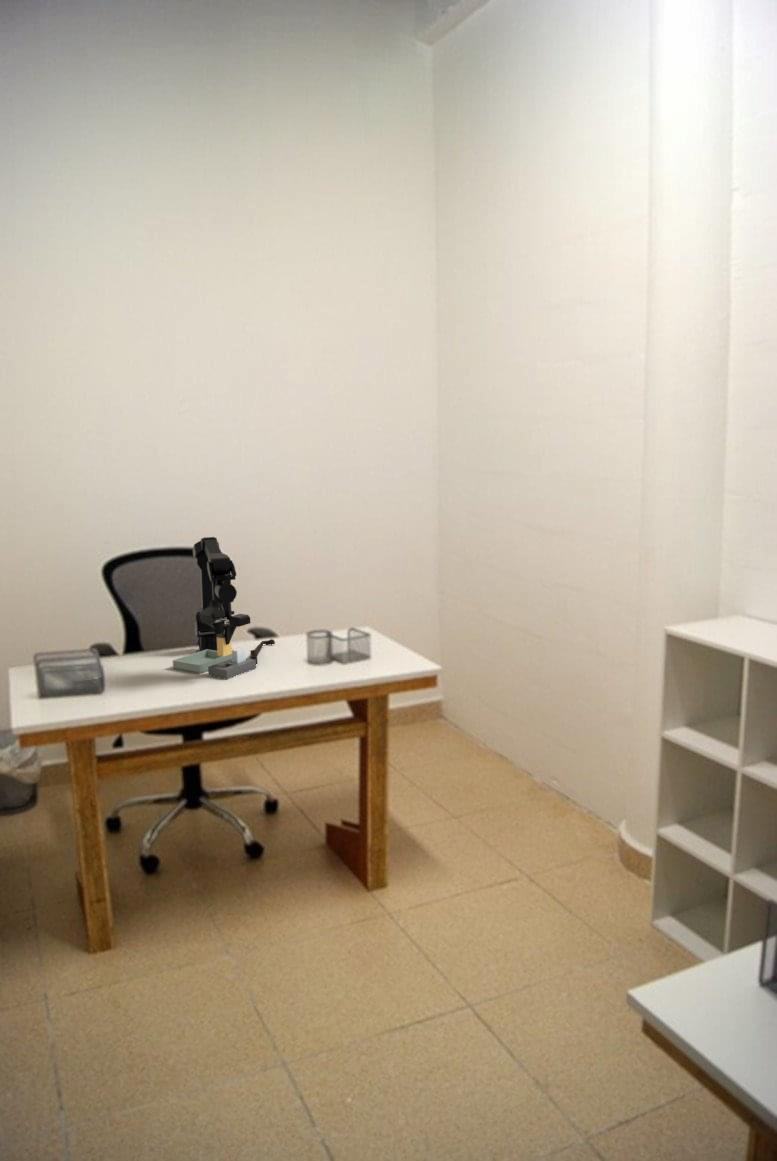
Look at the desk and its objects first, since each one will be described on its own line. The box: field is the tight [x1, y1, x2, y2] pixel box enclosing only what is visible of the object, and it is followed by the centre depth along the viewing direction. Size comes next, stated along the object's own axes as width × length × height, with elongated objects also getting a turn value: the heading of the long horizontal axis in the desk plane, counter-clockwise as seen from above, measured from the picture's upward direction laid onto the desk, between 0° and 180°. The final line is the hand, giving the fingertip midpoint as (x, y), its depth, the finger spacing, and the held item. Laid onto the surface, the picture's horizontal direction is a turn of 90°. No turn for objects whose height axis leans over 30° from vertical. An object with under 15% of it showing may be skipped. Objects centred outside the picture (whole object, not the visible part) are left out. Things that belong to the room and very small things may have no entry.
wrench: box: [249, 638, 276, 665], centre depth 311 cm, size 5×5×30 cm
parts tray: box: [172, 649, 232, 674], centre depth 299 cm, size 12×16×3 cm
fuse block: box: [207, 657, 257, 680], centre depth 290 cm, size 8×14×3 cm, turn 147°
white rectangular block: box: [232, 647, 247, 663], centre depth 293 cm, size 2×4×7 cm, turn 147°
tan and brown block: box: [216, 632, 233, 656], centre depth 286 cm, size 2×4×7 cm, turn 147°
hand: (224, 643), depth 286 cm, fingers closed on tan and brown block, 2 cm apart
